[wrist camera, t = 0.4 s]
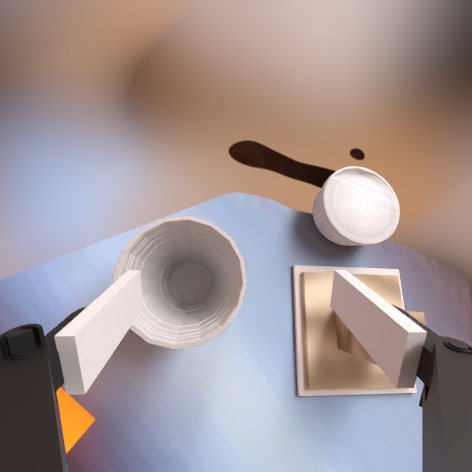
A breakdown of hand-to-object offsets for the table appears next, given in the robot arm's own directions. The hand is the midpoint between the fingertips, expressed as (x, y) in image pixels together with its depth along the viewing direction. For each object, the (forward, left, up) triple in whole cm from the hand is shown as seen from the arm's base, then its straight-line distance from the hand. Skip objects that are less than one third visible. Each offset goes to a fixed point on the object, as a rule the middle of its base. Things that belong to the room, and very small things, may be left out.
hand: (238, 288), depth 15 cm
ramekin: (+12, -18, -16) cm, 27 cm away
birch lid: (-4, -18, -15) cm, 24 cm away
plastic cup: (+1, +4, -16) cm, 16 cm away
